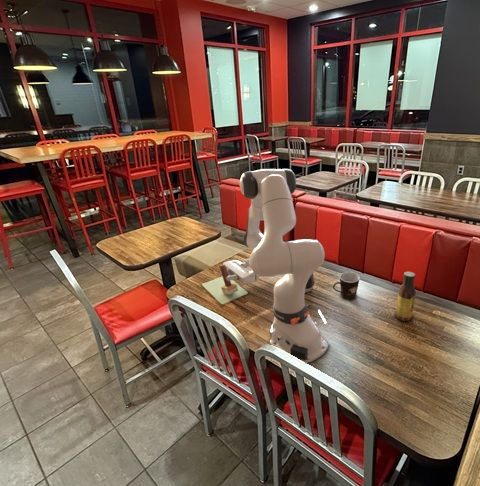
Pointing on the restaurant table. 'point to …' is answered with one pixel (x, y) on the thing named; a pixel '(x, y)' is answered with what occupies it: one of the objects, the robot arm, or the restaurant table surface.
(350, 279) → the coffee mug
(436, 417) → the restaurant table surface
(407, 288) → the sauce bottle
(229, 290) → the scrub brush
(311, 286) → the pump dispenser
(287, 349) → the robot arm
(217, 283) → the scrub mat
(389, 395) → the restaurant table surface
